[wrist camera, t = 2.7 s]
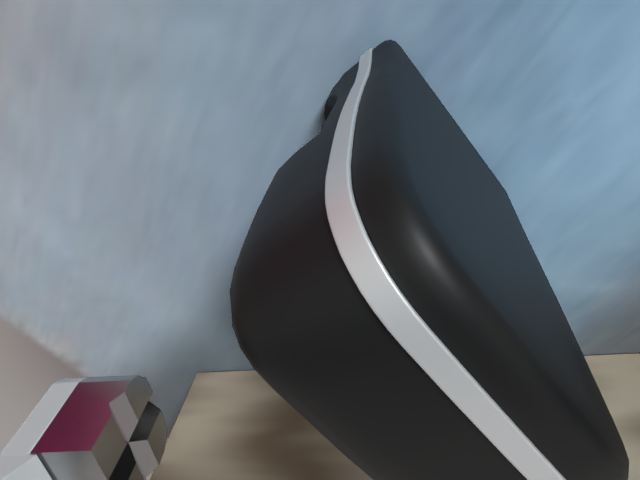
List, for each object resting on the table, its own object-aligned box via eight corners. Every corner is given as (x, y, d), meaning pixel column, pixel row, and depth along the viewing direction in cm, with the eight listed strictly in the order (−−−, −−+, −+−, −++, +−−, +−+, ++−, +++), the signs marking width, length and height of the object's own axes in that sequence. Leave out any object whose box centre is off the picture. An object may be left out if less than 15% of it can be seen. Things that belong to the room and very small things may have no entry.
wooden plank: (814, 345, 19) (976, 499, 14) (801, 377, 19) (949, 535, 14) (197, 372, 23) (142, 497, 18) (207, 397, 24) (157, 524, 19)
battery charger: (290, 106, 16) (147, 351, 7) (387, 25, 15) (383, 189, 5) (417, 255, 19) (450, 602, 9) (512, 198, 17) (676, 541, 7)
